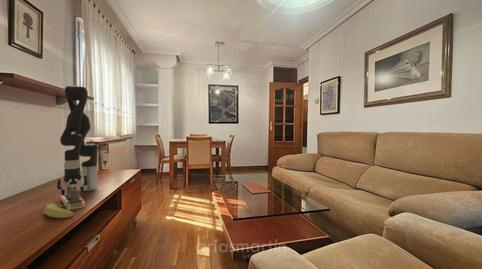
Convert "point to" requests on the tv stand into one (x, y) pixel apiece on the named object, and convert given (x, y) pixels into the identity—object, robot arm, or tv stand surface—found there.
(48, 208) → the banana
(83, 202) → the pin board
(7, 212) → the tv stand surface
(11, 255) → the tv stand surface
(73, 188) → the peg
